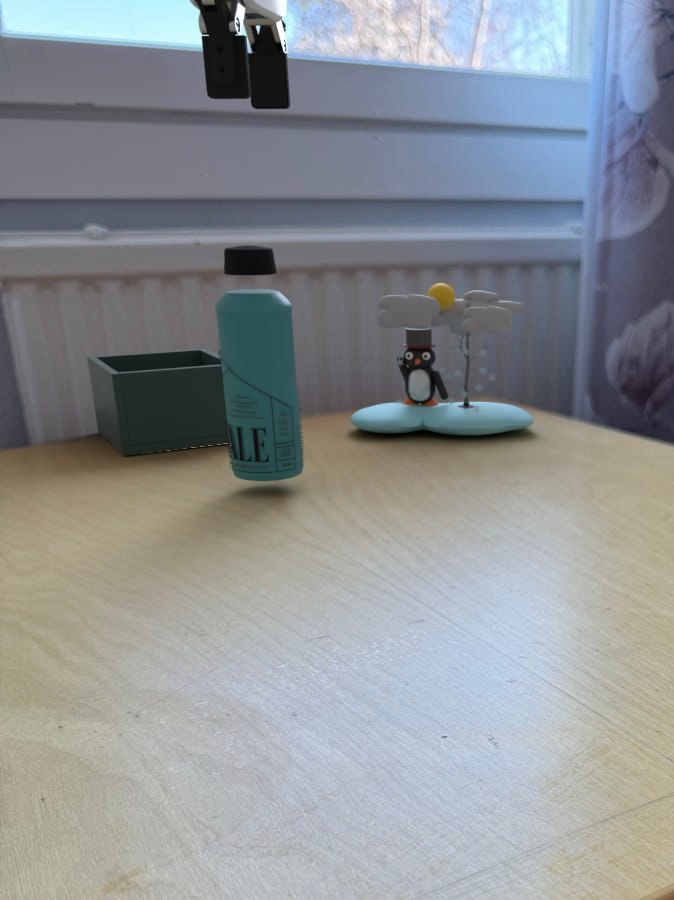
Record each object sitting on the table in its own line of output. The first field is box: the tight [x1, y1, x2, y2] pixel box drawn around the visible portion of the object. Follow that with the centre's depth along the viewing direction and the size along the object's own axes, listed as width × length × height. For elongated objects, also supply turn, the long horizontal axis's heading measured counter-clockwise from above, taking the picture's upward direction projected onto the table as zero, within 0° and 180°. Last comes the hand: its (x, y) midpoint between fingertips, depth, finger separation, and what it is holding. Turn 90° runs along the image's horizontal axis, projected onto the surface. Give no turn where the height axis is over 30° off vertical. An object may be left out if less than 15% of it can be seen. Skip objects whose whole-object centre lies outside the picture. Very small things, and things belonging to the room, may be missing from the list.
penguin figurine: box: [350, 282, 535, 436], centre depth 107 cm, size 20×11×15 cm, turn 87°
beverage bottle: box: [214, 244, 306, 482], centre depth 84 cm, size 6×7×20 cm
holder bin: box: [86, 348, 229, 457], centre depth 105 cm, size 13×13×8 cm
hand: (251, 103), depth 78 cm, fingers open, 9 cm apart
